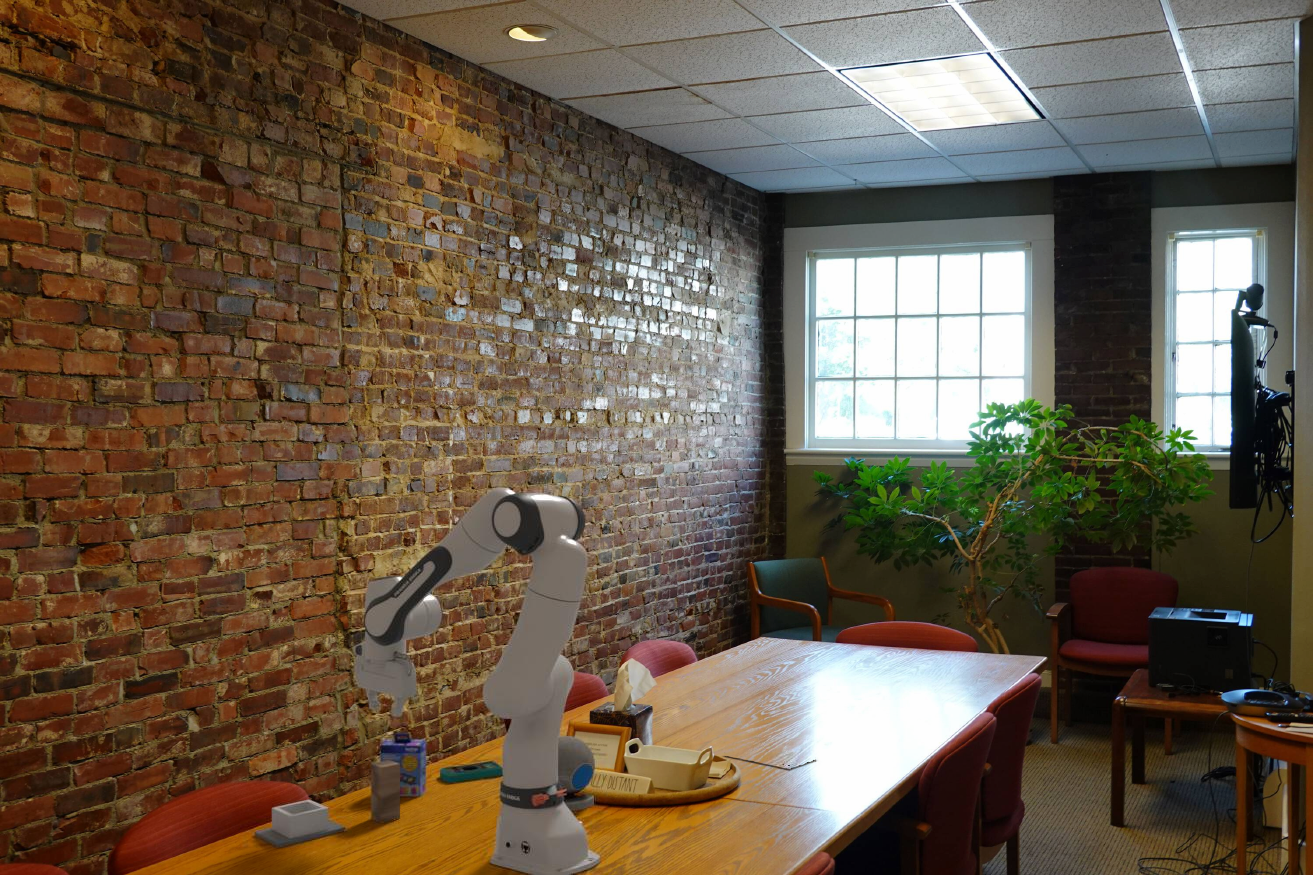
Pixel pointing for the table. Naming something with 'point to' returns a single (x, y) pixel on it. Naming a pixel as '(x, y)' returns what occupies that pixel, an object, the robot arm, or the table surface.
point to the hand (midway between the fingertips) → (385, 712)
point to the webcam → (575, 771)
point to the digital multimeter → (470, 772)
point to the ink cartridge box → (407, 763)
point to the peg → (385, 791)
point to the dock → (298, 824)
